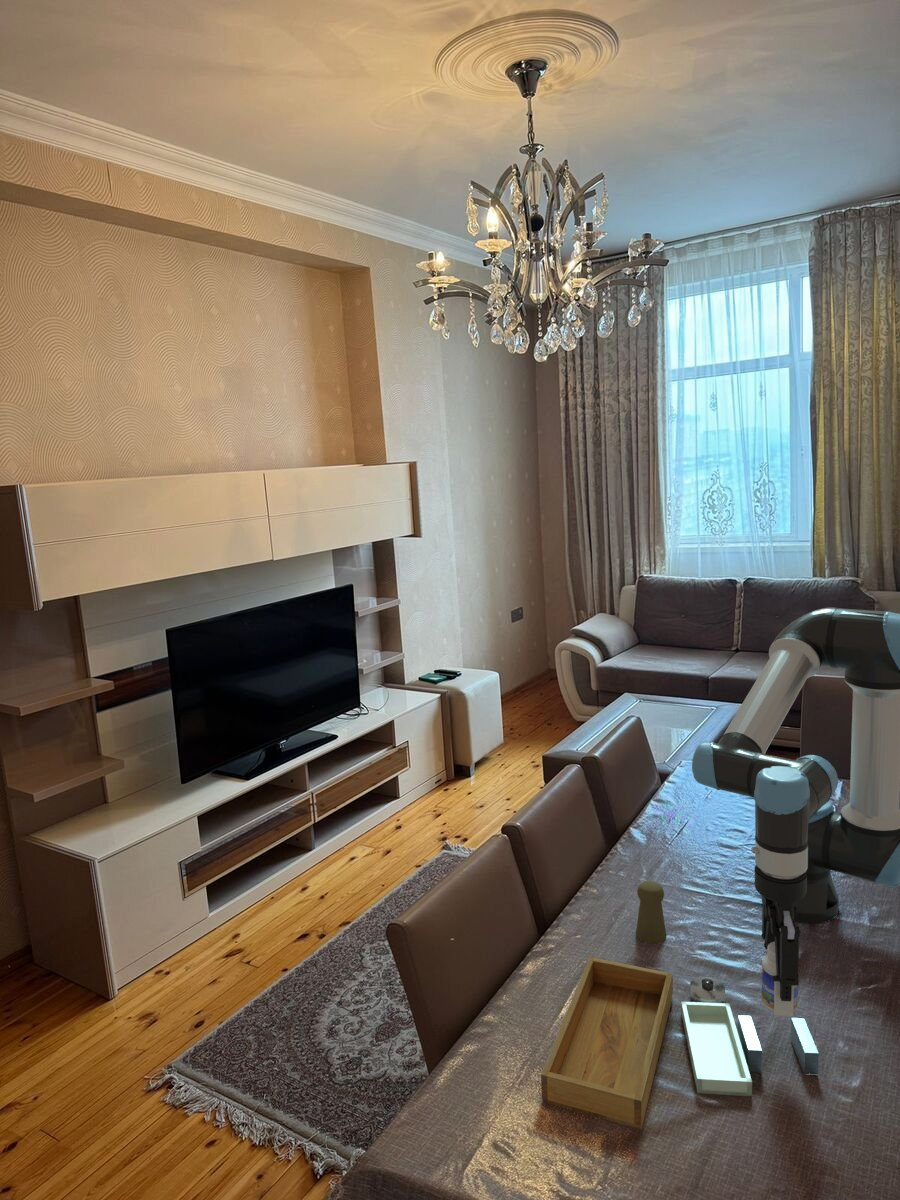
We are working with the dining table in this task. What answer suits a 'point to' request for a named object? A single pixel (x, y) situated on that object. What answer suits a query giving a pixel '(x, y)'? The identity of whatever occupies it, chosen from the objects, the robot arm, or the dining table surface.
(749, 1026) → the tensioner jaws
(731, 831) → the dining table surface
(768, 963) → the pill bottle
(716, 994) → the silver pot lid
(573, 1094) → the tray
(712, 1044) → the tray
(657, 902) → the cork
